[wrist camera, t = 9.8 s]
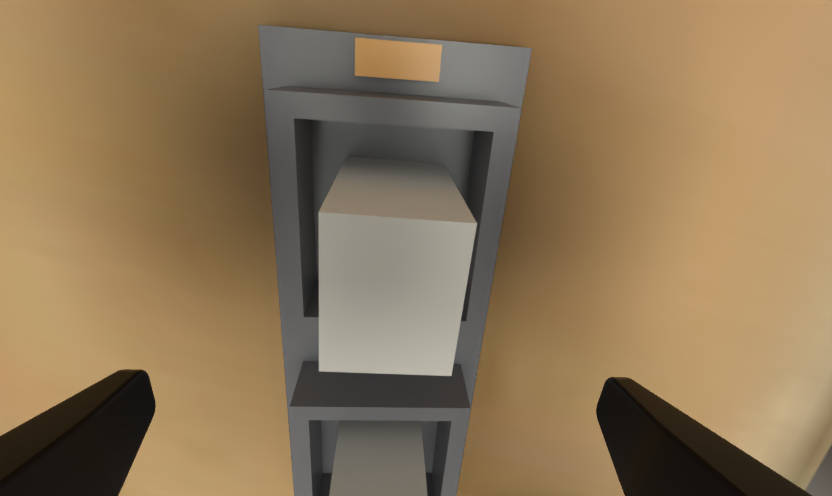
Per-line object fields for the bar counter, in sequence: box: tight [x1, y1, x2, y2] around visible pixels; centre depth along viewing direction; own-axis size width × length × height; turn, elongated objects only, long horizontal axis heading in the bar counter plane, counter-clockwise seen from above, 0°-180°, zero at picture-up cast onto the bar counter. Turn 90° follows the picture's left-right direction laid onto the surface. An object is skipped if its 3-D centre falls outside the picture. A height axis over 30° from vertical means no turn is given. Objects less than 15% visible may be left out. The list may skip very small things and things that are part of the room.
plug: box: [319, 156, 477, 376], centre depth 14 cm, size 5×4×7 cm
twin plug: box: [329, 420, 427, 496], centre depth 19 cm, size 5×4×7 cm
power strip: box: [258, 25, 532, 496], centre depth 19 cm, size 26×10×4 cm, turn 176°
